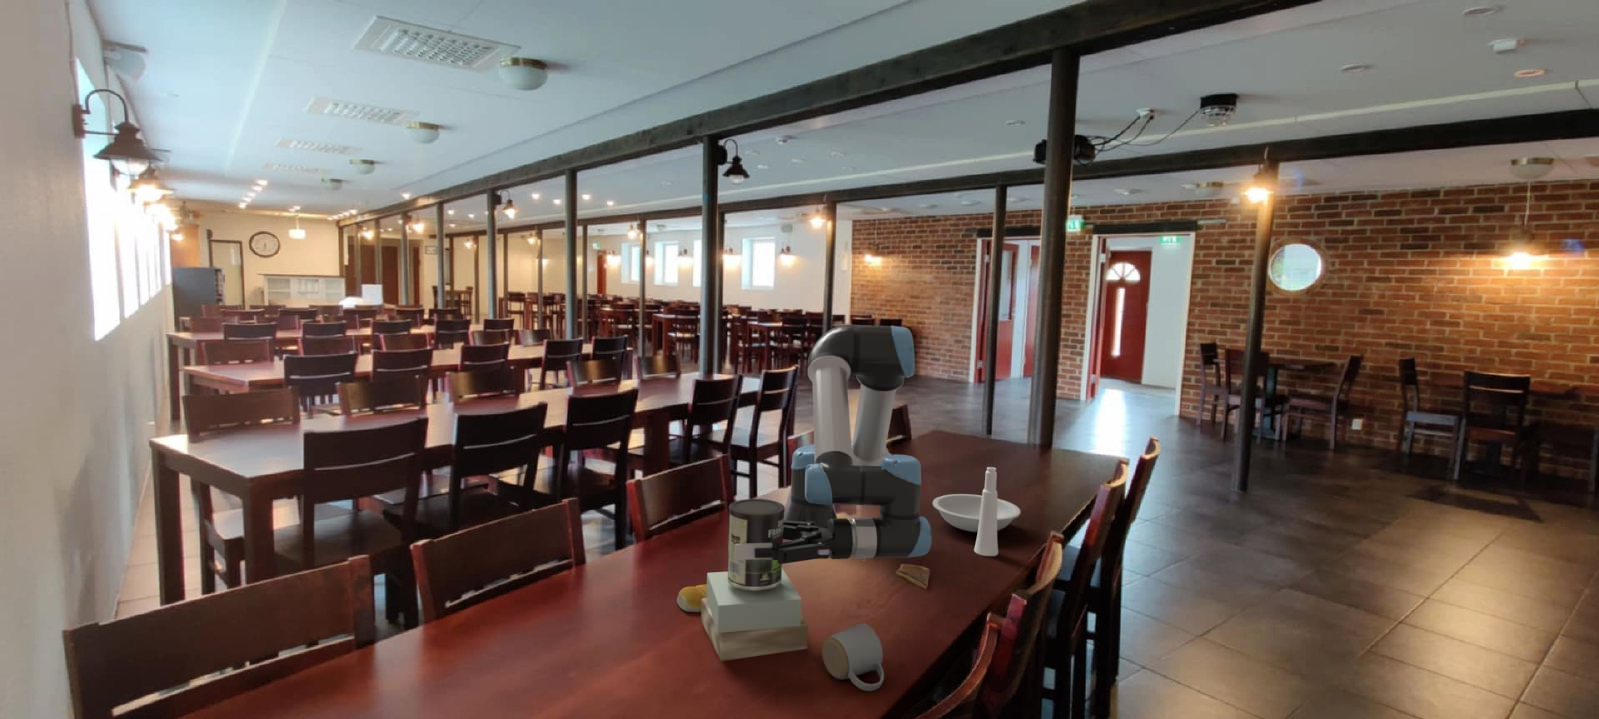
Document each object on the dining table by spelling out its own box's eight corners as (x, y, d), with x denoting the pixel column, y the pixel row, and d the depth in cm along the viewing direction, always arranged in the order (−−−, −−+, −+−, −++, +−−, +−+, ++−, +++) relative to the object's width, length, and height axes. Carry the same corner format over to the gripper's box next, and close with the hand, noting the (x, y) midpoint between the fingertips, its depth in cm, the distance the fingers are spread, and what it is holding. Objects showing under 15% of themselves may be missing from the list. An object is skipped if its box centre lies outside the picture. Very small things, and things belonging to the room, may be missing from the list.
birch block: (701, 623, 141) (701, 598, 140) (778, 613, 146) (779, 589, 146) (721, 664, 126) (722, 636, 125) (806, 651, 132) (807, 624, 131)
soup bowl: (1029, 526, 207) (1030, 504, 207) (1004, 550, 187) (1006, 525, 186) (949, 510, 220) (950, 489, 219) (918, 531, 200) (919, 507, 199)
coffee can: (790, 574, 138) (792, 502, 137) (769, 595, 128) (771, 517, 127) (741, 565, 142) (743, 495, 140) (717, 584, 132) (719, 509, 131)
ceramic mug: (817, 670, 124) (820, 627, 123) (853, 656, 129) (856, 615, 128) (858, 700, 116) (861, 654, 115) (895, 684, 121) (898, 641, 120)
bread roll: (728, 607, 148) (729, 588, 147) (688, 617, 143) (688, 597, 142) (710, 592, 155) (711, 574, 154) (671, 601, 150) (671, 582, 149)
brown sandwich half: (927, 592, 160) (927, 584, 160) (892, 587, 161) (892, 580, 161) (930, 574, 170) (930, 566, 170) (897, 569, 172) (897, 562, 172)
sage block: (706, 597, 141) (707, 572, 140) (781, 592, 145) (782, 568, 144) (717, 633, 126) (718, 605, 126) (800, 626, 130) (801, 599, 130)
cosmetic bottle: (972, 554, 183) (977, 469, 181) (975, 546, 189) (980, 464, 187) (996, 558, 181) (1002, 472, 179) (999, 550, 186) (1005, 466, 184)
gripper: (864, 581, 127) (738, 585, 123) (835, 537, 149) (727, 540, 145) (866, 539, 126) (739, 542, 122) (836, 501, 148) (728, 503, 144)
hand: (732, 541), depth 134 cm, fingers closed on coffee can, 10 cm apart
